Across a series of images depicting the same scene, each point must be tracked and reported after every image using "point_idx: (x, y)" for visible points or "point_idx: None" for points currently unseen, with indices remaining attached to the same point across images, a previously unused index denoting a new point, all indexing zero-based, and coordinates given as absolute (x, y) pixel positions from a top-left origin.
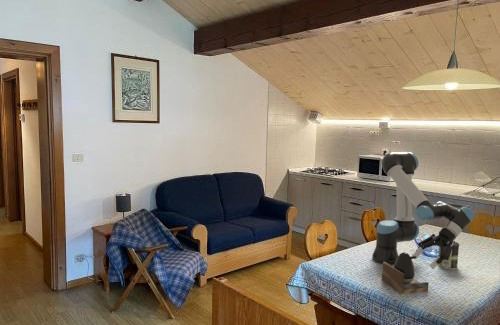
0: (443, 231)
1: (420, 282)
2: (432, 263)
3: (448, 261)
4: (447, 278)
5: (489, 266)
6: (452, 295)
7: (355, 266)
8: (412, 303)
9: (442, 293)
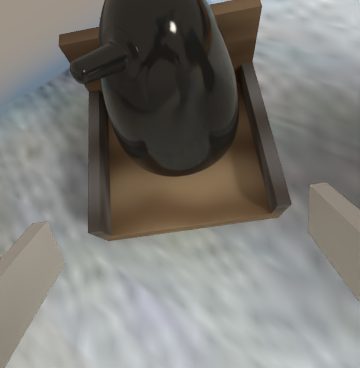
0: None
1: (99, 186)
2: (17, 241)
3: None
4: None
5: None
6: (44, 355)
7: None
8: (29, 119)
9: (76, 309)
